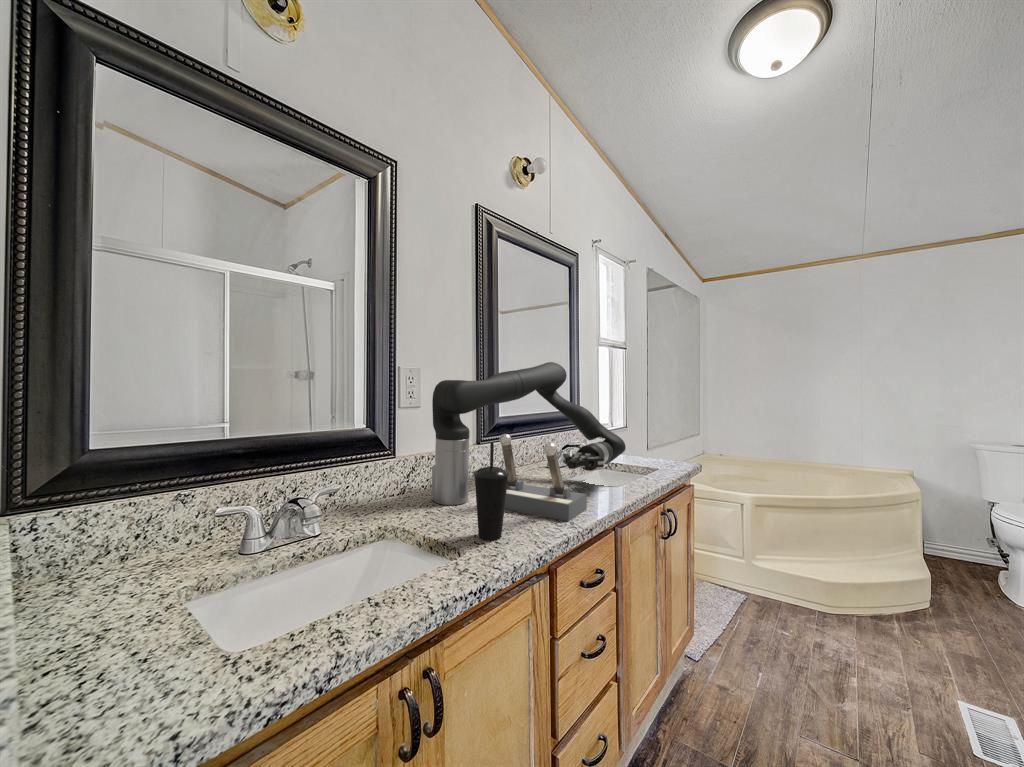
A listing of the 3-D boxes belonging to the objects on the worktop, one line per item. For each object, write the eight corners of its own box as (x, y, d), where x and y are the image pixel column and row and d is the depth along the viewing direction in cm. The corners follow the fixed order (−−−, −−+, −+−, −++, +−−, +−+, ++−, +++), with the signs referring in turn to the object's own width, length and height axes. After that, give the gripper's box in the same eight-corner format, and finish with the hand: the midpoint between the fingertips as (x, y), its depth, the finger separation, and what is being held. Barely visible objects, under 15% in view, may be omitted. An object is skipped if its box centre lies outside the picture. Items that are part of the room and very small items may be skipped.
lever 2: (552, 495, 110) (540, 447, 103) (556, 487, 112) (545, 439, 106) (563, 497, 108) (552, 448, 102) (568, 489, 110) (557, 440, 104)
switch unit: (485, 505, 114) (485, 481, 114) (508, 495, 125) (508, 474, 125) (568, 521, 102) (569, 495, 102) (586, 509, 113) (587, 485, 113)
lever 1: (505, 487, 117) (496, 436, 112) (510, 480, 119) (502, 431, 115) (515, 488, 115) (506, 437, 110) (521, 482, 118) (512, 432, 113)
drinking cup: (464, 536, 91) (466, 442, 91) (490, 528, 96) (492, 439, 96) (489, 546, 86) (491, 446, 86) (515, 536, 91) (517, 443, 91)
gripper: (572, 441, 134) (549, 448, 119) (614, 445, 127) (594, 453, 112) (572, 465, 134) (548, 475, 119) (614, 470, 127) (594, 482, 112)
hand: (571, 465), depth 116 cm, fingers closed
